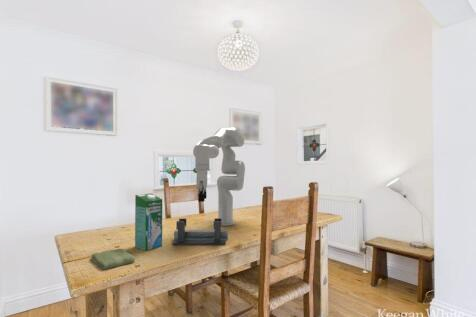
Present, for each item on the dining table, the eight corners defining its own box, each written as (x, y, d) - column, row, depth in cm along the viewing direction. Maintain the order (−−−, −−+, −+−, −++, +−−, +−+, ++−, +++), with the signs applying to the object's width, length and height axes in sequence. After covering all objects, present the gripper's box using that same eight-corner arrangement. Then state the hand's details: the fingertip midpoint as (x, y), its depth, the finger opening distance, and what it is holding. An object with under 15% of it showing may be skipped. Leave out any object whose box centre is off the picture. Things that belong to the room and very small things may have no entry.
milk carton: (145, 250, 121) (146, 196, 121) (134, 247, 126) (135, 194, 126) (162, 245, 128) (162, 194, 128) (151, 242, 133) (151, 193, 134)
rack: (174, 241, 135) (175, 218, 135) (225, 241, 135) (225, 218, 135) (171, 246, 128) (171, 221, 128) (225, 245, 128) (225, 221, 128)
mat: (176, 237, 141) (176, 236, 141) (226, 237, 142) (226, 236, 142) (174, 240, 136) (174, 239, 136) (226, 240, 137) (226, 239, 137)
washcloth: (121, 252, 120) (121, 245, 120) (136, 263, 107) (136, 255, 107) (89, 259, 111) (89, 252, 111) (101, 272, 98) (101, 264, 98)
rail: (175, 236, 141) (175, 230, 141) (227, 236, 141) (227, 230, 141) (174, 238, 137) (174, 231, 137) (227, 238, 138) (227, 231, 138)
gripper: (197, 167, 149) (197, 197, 149) (192, 168, 131) (192, 202, 131) (210, 167, 149) (210, 197, 149) (207, 168, 131) (208, 202, 132)
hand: (202, 199), depth 140 cm, fingers open, 9 cm apart
